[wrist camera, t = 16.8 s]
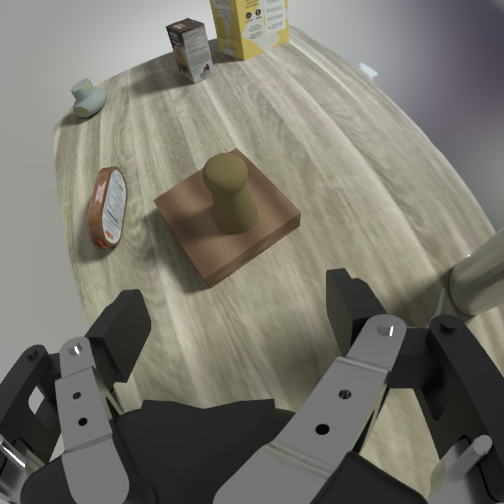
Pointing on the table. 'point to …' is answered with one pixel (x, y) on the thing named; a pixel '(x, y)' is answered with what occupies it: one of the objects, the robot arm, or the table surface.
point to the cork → (230, 193)
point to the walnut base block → (209, 233)
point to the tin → (107, 208)
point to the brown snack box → (191, 49)
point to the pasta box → (250, 26)
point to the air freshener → (88, 98)
